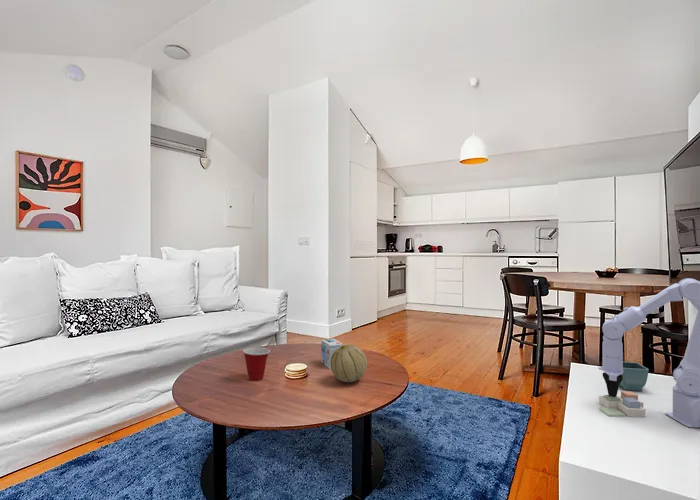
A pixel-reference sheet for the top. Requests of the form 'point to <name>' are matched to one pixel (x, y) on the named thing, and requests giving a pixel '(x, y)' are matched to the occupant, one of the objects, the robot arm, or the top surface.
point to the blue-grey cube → (631, 403)
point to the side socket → (631, 411)
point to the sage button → (612, 398)
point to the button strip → (613, 402)
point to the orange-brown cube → (628, 395)
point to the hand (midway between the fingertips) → (612, 395)
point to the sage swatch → (611, 412)
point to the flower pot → (634, 376)
